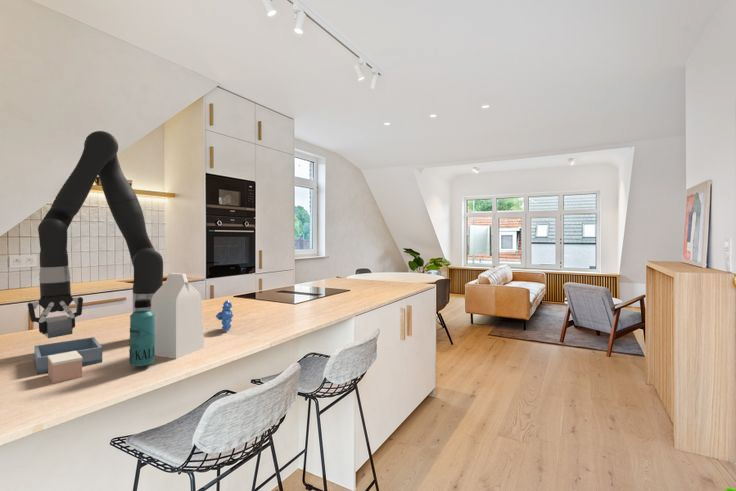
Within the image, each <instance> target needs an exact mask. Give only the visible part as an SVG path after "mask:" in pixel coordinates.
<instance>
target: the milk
mask: <svg viewBox="0 0 736 491" xmlns="http://www.w3.org/2000/svg"><path fill="white" fill-rule="evenodd" d="M202 303H203V302H202V295H201V293H200V292H199V290H197V289H196V288H195V287H194V286H193V285H192V284H191V283H190V282H189V280H188V277H187V274H186V273H179V272H177V273H176V272H170V273H168V274H167V277H166V281H164V282H163V284H162V286H161V287H160V288H159V289H158V290H157V291H156V293H155V294H154V295H153V297H152V300H151V311H152V312H153V313H154V314H155V355H156V356H157V357H162V358H167V357H169V359H172V358H176V359H175V360H177V358H178V359H180V358H179V357H181V358H183V357H186V356H188V355H187V354H189V355H191V354H193V353H192V352H194V353H196V352H195V351H197V352H199V351H201V350H200V349H202V350H204V349H205V341H204V339H205V338H204V321H203V317H204V316H203V304H202ZM203 348H204V349H203ZM198 350H199V351H198ZM190 353H191V354H190ZM185 355H186V356H185ZM156 356H155V357H156ZM182 356H183V357H182Z"/></svg>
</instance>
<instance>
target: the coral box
mask: <svg viewBox="0 0 736 491" xmlns="http://www.w3.org/2000/svg"><path fill="white" fill-rule="evenodd" d="M82 360H83V357H82V356H81V355H80V354H79V353H78V352H77V351H71V352H66V353H60V354H54V355H49V356H48V372H47V375H48V377H49V379H50V380H51V383H52V384H56V383H57V384H58V383H61V382H65V381H69V380H74V379H80V378H83V366H82Z"/></svg>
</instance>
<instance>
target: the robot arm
mask: <svg viewBox="0 0 736 491" xmlns="http://www.w3.org/2000/svg"><path fill="white" fill-rule="evenodd" d="M118 152H119V144H118V141H117V138H115V137H114V135H112V134H111V133H110V132H108V131H104V130H96V131H93V132H91V133H89V134H88V135H87V136H86V138H85V140H84V143H83V150H82V152H81V153H82V154H81V156H80V158H79V160H78V161H77V164H76V166H75V168H74V169H73V171H72V172H71V173H70V175H69V176H68V178H67V179H66V180H65V181H64V183H63V185H62V186H61V188H60V189H59V191H58V193H57V195H56V196H55V198H54V200H53V202H52V203H51V207H50V209H49V210H48V211H47V212H46V214H45V216H44V217H43V218H42V220H41V222H40V223H39V225H38V226H37V232H38V238H39V240H38V241H39V248H40V252H39V273H38V274H39V276H38V278H39V279H38V280H39V294H40V295H39V296H40V297H39V300H37V301H33V302H31V301H30V302H28V303H27V309H28V314H29V318H30V322H32V323H38V330H39V333H40V334H42V335H44V334H45V322H44V320H45V318H48V315H49V314H50V313H56V312H64V311H65V313H66V315H67V316H68V317H70V318H71V319H72V331H73V329H74V328H75V327H76V318H77V317H79V316H82V314H83V305H84V304H83V302H84V298H83V297H81V296H78V297H73V296H72V294H71V293H72V292H71V274H70V268H69V256H68V229H69V227H70V224H72V221H73V219H74V218H75V216H77V214H79V211H80V210H81V208H82V206H83V205H84V203H85V201H86V200H87V198H88V195H89V193H90V191H91V190H92V187H93V185H94V184H95V181H96V179H97V177H98V178H99V180H100V185H101V188H102V191H103V194H104V197H105V200H106V203H107V205H108V208H109V210H110V212H111V215H112V217H113V220H114V222H115V224H116V226H117V227H118V230H119V231H120V233H121V235H122V236H123V238H124V240H125V243H126V246H127V249H128V252H129V256H130V261H131V263H132V264H131V265H132V267H133V284H132V313H133V312H135V311H139V310H151V307H147V308H135V307H134V305H135V301H136V300H140V299H150V301H151V300H152V297H153V295H154V294H155V293H156V291H157V290H158V289H159V288H160V287H161V286H162V285H163V284H164V258H163V256H162V254H160V252H158V250H156V249H155V248H154V246H153V243H152V241H151V239H150V238H149V234H148V232H147V226H146V222H145V217H144V213H143V210H142V207H141V203H140V202H139V199H138V197H137V195H136V192H135V190H134V189H133V187H132V186H131V183H129V181H128V180H127V178H126V176H125V175H124V173H123V170H122V168H121V165H120V161H119V158H118ZM72 302H74V304H75V305H76V309H75V310H76V311H75V312H72V310H71V309H70V308H69V306H70V305H71V303H72ZM38 306H40V307H42V308H43V310H42V312H41V314H40V315H39V317H36V313H35V310H36V309H37V308H38Z"/></svg>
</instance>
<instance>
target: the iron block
mask: <svg viewBox="0 0 736 491" xmlns="http://www.w3.org/2000/svg"><path fill="white" fill-rule="evenodd" d="M44 322H45V334H43V335H44V336H45V337H46V338H48V339H52V338H57V337H64V336H68V335H69V336H70V335H73V330H72V319H71V318H70V316H69V315H68V314H63V315H57V316H50V317H46V318H45V320H44Z"/></svg>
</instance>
